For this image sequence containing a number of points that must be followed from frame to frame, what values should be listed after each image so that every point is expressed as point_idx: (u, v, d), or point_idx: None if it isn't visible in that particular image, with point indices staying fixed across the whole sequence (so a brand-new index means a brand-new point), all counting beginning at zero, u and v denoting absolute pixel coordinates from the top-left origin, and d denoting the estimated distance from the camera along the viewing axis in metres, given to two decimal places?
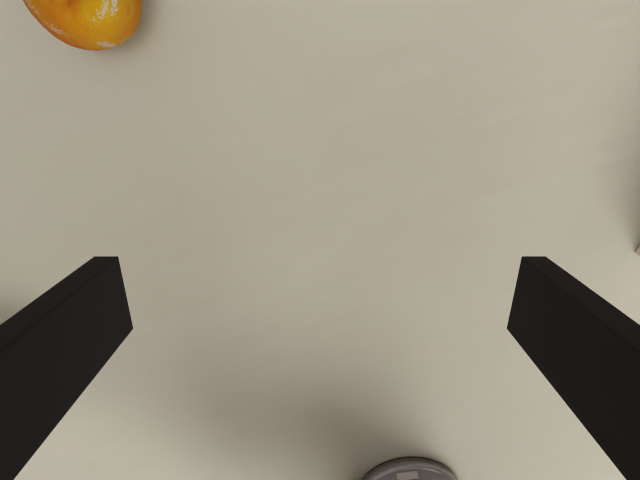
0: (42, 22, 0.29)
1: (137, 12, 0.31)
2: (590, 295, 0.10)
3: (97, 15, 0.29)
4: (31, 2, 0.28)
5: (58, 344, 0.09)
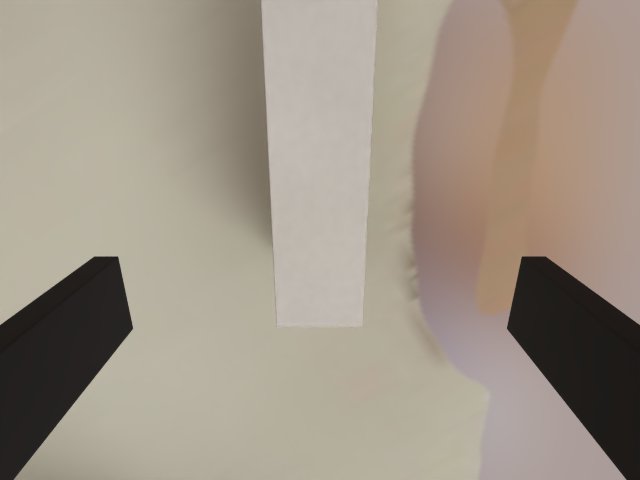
0: None
1: None
2: (590, 295, 0.10)
3: None
4: None
5: (58, 344, 0.09)
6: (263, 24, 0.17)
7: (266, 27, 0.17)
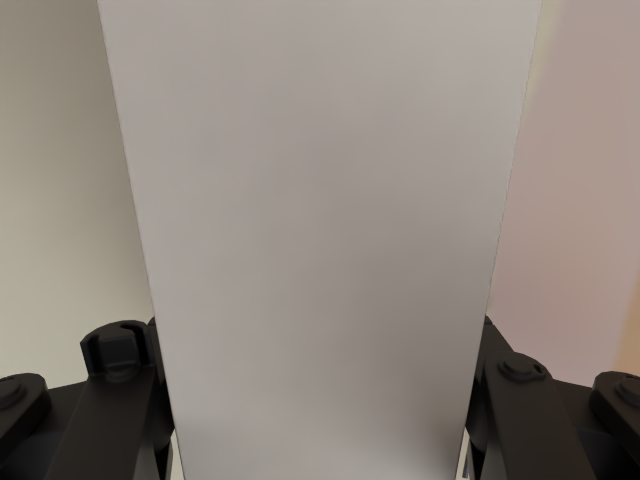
0: None
1: None
2: None
3: None
4: None
5: None
6: None
7: None
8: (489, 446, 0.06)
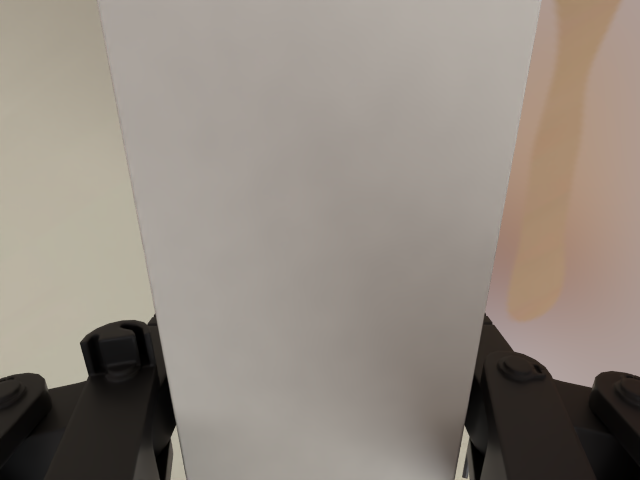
0: None
1: None
2: None
3: None
4: None
5: None
6: None
7: None
8: (489, 446, 0.06)
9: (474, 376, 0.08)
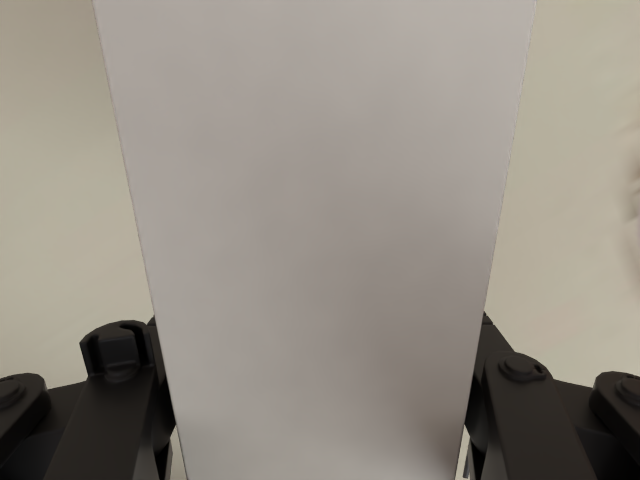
0: None
1: None
2: None
3: None
4: None
5: None
6: None
7: None
8: (490, 446, 0.06)
9: (474, 376, 0.08)
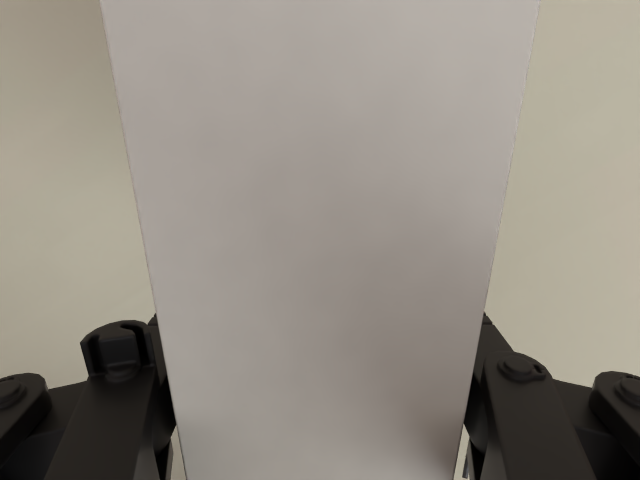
0: None
1: None
2: None
3: None
4: None
5: None
6: None
7: None
8: (489, 446, 0.06)
9: (474, 376, 0.08)
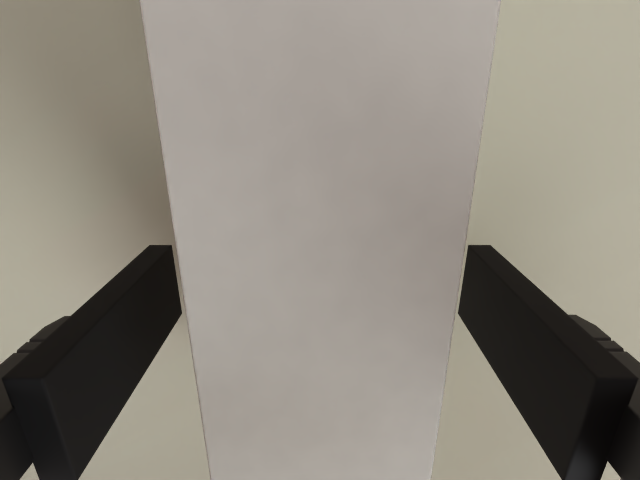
0: None
1: None
2: (519, 278, 0.11)
3: None
4: None
5: (131, 322, 0.10)
6: None
7: None
8: None
9: (637, 417, 0.07)
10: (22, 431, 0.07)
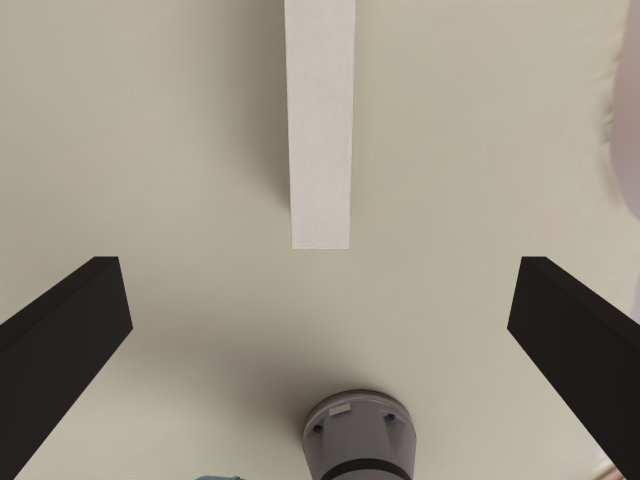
0: None
1: None
2: (590, 295, 0.10)
3: None
4: None
5: (58, 344, 0.09)
6: (286, 51, 0.28)
7: (288, 53, 0.28)
8: None
9: None
10: None
